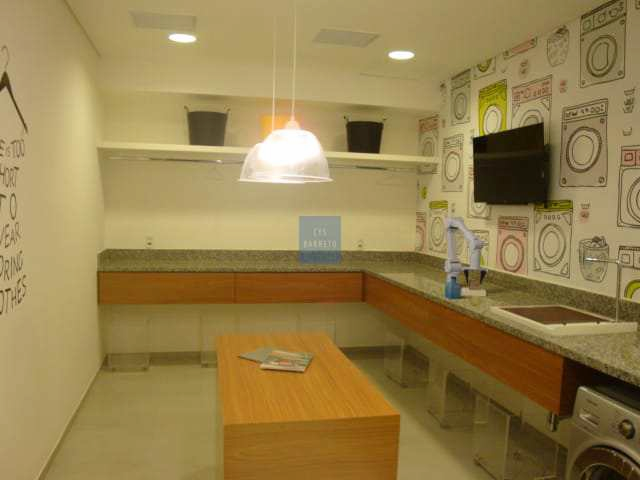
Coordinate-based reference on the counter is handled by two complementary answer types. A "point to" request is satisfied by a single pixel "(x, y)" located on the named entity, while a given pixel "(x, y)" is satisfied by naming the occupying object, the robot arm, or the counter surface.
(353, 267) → the counter surface
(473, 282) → the walnut cube
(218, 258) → the counter surface
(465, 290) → the base block
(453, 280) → the perfume bottle
